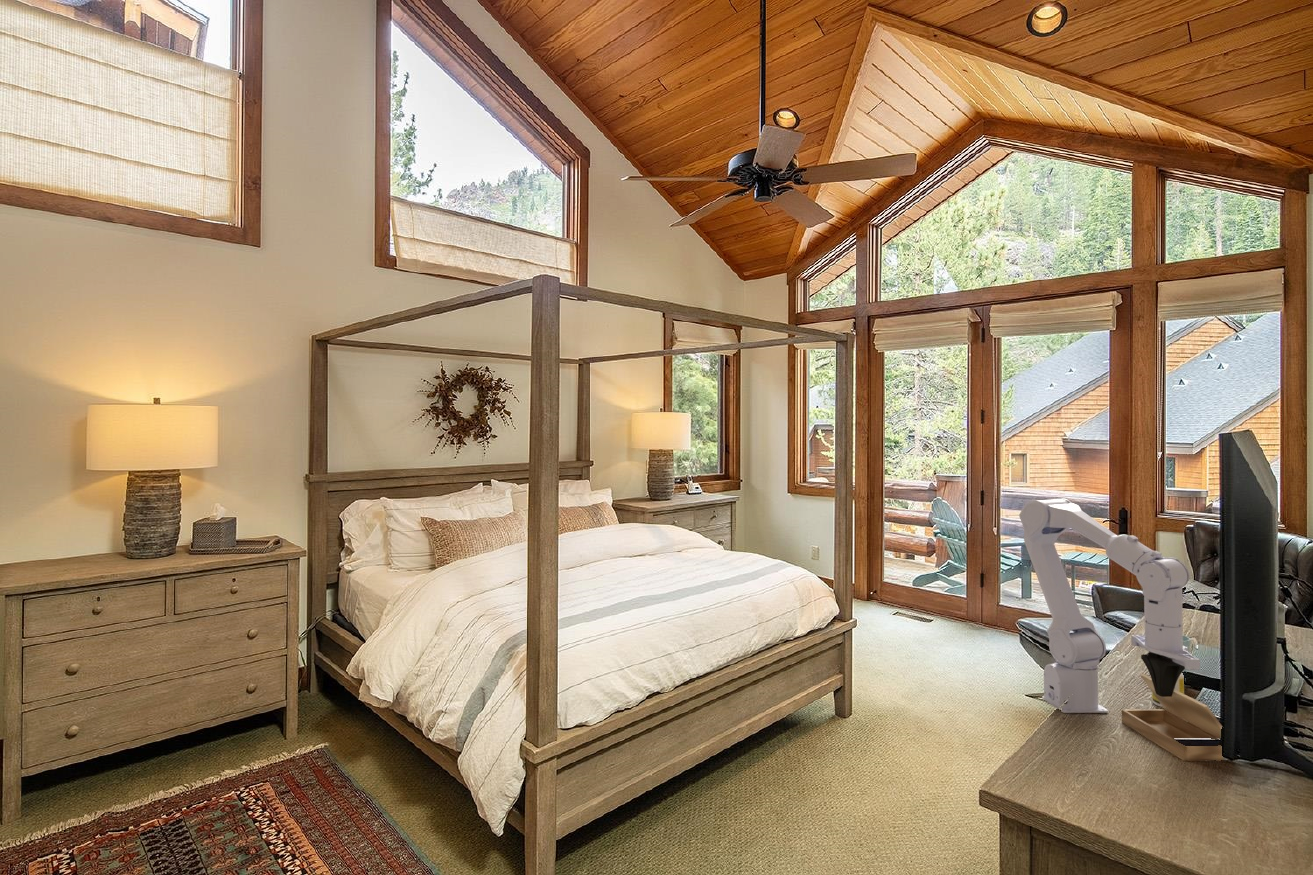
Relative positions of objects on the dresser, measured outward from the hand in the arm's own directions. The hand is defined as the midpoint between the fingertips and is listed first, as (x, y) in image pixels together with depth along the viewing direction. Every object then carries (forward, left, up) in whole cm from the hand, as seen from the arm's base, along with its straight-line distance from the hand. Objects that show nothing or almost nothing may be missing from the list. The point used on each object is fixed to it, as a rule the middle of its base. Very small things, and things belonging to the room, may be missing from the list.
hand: (1164, 695), depth 125 cm
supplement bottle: (+13, +16, -9) cm, 22 cm away
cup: (+24, +30, -9) cm, 39 cm away
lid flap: (+4, 0, -2) cm, 4 cm away
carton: (+2, 0, -8) cm, 9 cm away
